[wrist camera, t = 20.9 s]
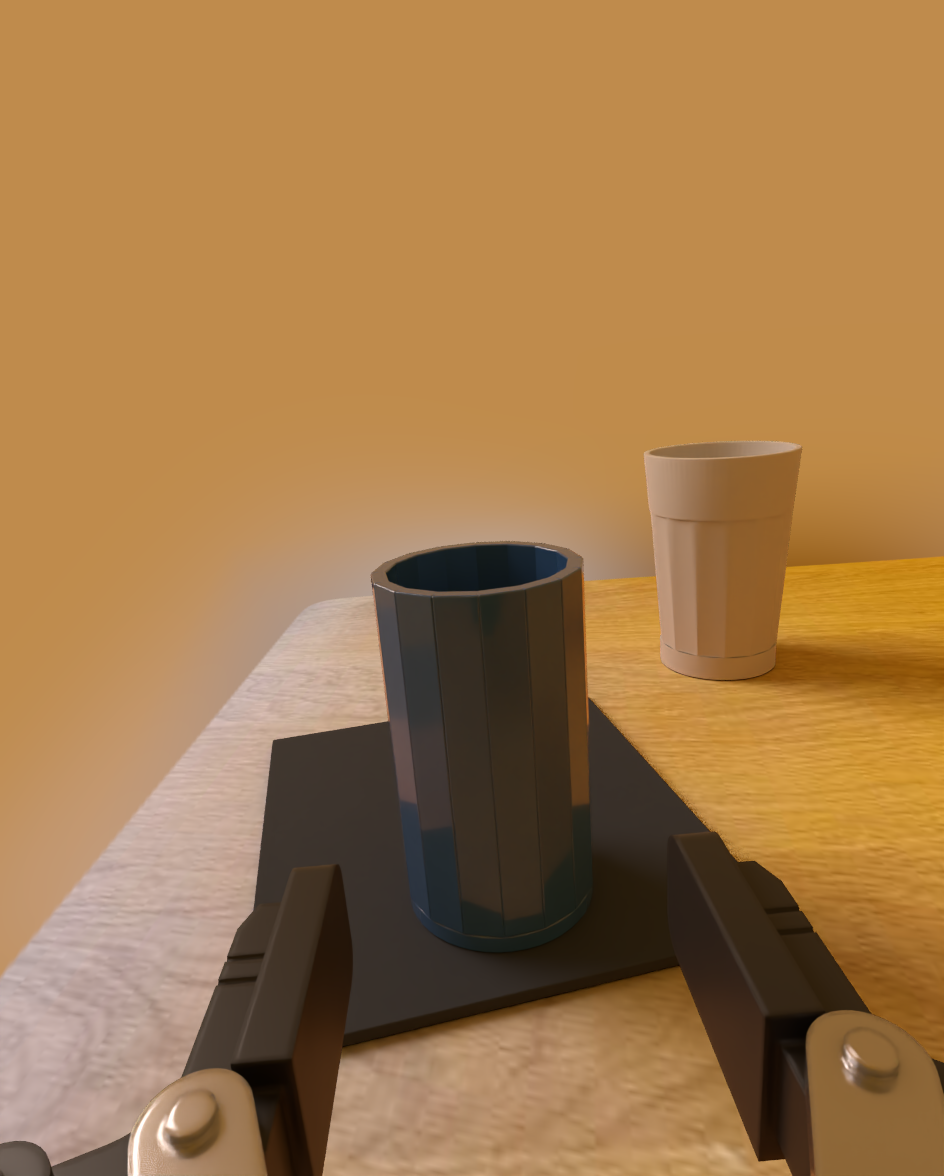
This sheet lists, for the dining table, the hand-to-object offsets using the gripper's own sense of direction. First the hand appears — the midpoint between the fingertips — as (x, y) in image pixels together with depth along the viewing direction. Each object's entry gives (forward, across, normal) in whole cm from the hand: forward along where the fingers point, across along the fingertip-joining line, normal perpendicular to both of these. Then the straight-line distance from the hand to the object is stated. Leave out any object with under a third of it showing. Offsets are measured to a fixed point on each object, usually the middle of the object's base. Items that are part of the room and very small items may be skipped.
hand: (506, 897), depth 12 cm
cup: (+29, -14, +9) cm, 33 cm away
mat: (+15, +1, +8) cm, 17 cm away
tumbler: (+10, 0, +8) cm, 13 cm away
